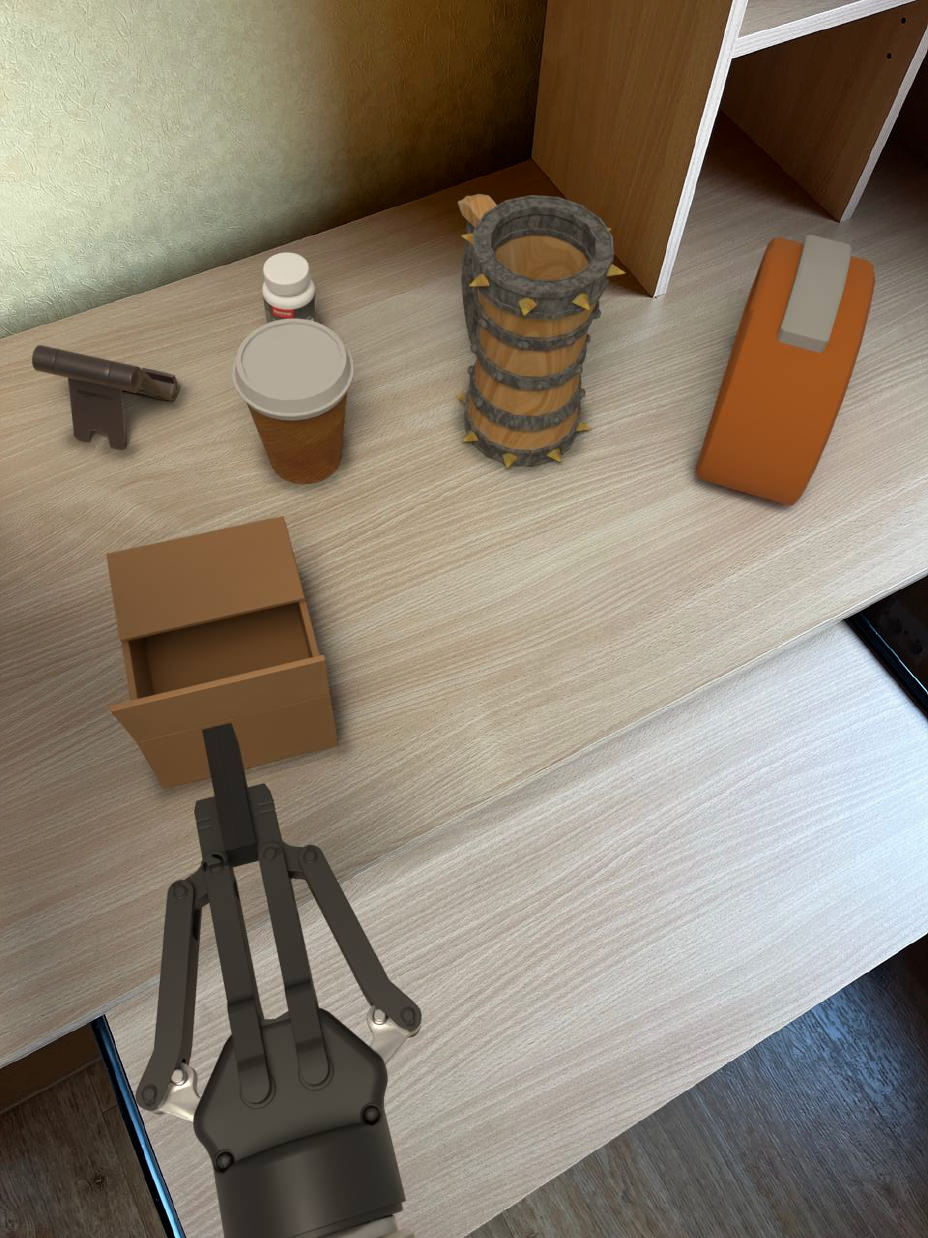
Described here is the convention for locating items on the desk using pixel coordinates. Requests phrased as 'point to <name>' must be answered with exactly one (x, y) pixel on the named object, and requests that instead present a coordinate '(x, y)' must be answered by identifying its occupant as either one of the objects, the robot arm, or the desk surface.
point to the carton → (217, 638)
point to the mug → (529, 321)
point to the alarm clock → (788, 368)
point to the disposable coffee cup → (296, 395)
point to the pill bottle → (288, 288)
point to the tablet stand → (101, 389)
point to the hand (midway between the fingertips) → (220, 737)
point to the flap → (223, 698)
